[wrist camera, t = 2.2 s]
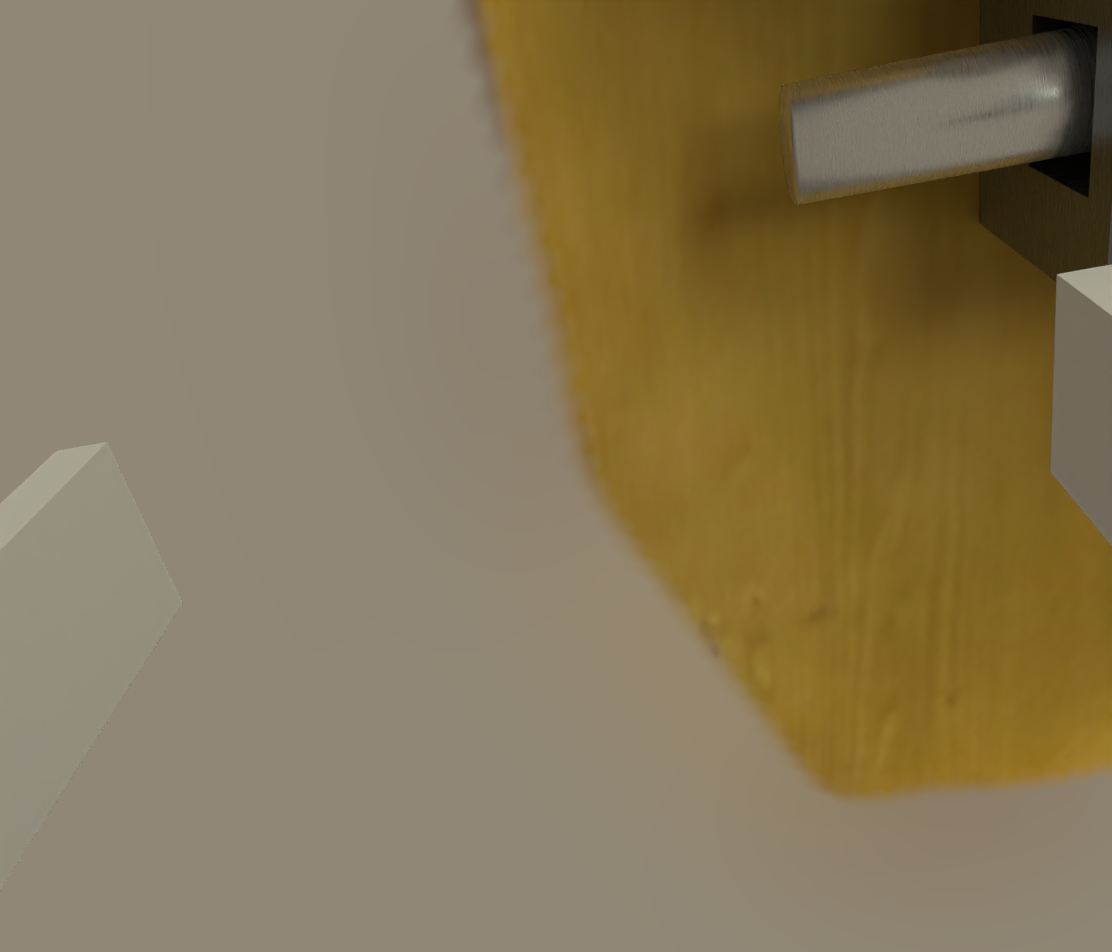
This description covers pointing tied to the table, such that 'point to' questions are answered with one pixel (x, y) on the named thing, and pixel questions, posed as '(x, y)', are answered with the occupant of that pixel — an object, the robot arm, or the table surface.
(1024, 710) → the table surface
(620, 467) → the table surface
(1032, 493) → the table surface
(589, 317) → the table surface
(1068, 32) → the axle
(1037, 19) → the block with square hole
